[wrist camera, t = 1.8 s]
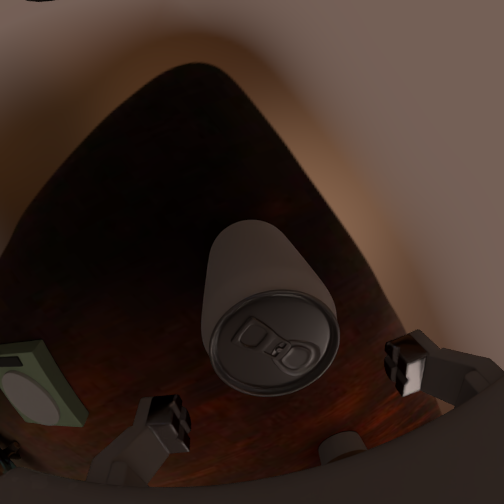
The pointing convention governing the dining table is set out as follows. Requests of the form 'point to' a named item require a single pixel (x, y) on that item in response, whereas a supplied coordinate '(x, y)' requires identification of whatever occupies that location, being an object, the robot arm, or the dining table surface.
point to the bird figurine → (3, 463)
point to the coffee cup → (340, 447)
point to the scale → (38, 386)
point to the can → (265, 313)
